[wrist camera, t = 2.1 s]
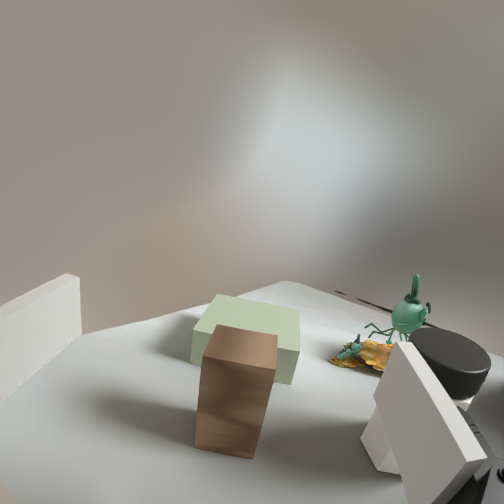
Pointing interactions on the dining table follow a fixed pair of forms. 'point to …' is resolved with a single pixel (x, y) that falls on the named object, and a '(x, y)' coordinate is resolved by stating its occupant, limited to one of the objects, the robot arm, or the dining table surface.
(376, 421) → the jar
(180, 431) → the dining table surface
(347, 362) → the green insect figurine
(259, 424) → the walnut block
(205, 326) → the sage block
